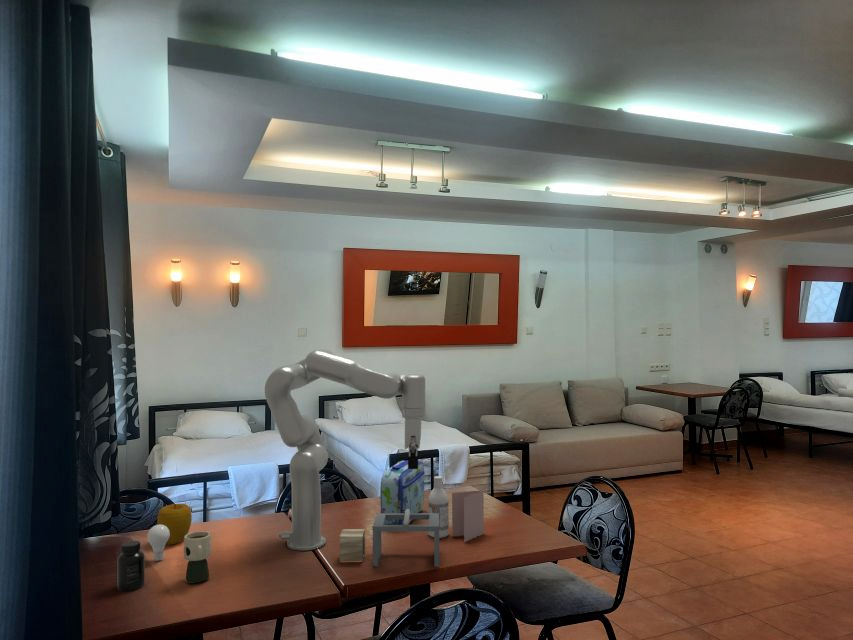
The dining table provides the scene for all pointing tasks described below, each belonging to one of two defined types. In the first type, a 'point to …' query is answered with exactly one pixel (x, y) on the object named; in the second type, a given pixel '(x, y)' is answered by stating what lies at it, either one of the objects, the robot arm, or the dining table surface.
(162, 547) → the lightbulb
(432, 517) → the shelf stand
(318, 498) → the robot arm
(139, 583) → the supplement bottle
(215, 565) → the dining table surface
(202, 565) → the character mug
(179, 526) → the apple
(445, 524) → the bath foam
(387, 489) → the lunch box
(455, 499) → the greeting card
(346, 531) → the birch clip
